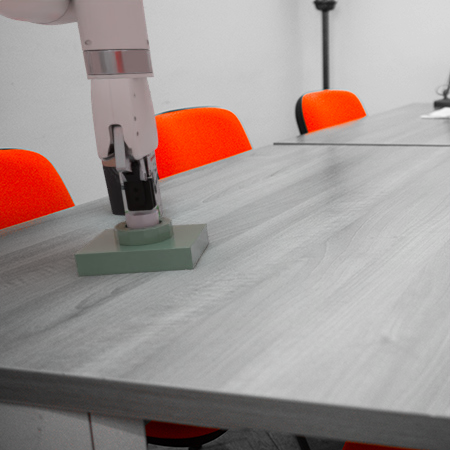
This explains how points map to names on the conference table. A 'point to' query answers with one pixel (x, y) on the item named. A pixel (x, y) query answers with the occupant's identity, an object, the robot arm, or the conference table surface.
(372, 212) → the conference table surface
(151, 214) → the pump button
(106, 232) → the green base with button
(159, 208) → the ink box
